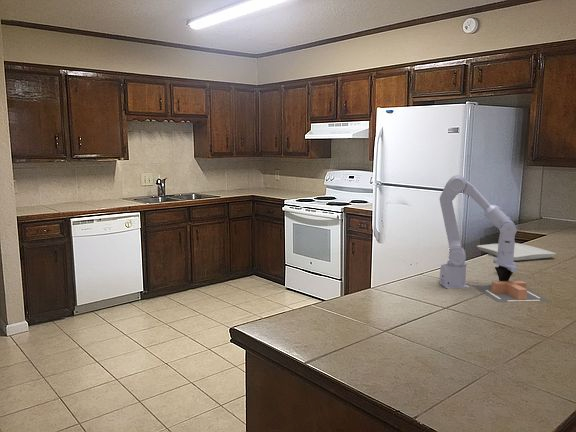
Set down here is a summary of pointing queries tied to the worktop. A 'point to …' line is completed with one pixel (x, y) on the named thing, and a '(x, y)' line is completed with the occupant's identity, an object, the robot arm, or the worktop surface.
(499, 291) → the t block
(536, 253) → the square plate
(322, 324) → the worktop surface
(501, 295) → the mat
